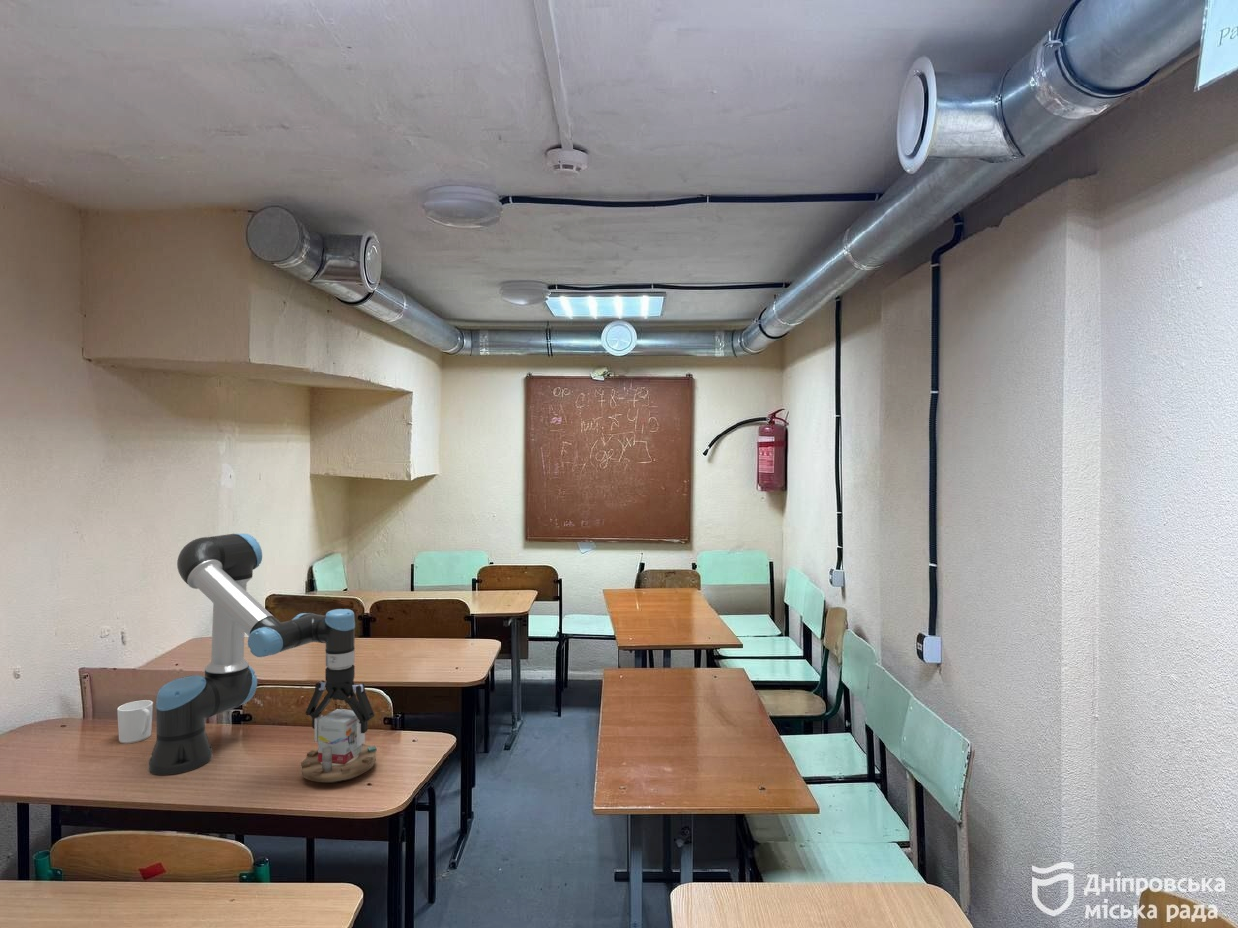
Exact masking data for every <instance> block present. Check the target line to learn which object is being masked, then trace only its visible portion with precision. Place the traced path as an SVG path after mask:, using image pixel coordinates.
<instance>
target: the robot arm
mask: <svg viewBox="0 0 1238 928" xmlns="http://www.w3.org/2000/svg"><path fill="white" fill-rule="evenodd" d="M262 561H263V551H262V547H261V545H260V542H258V540H257V539H256V538H255V537H254V536H252V535H251V534H249V533H229V534H222V535H221V534H220V535H214V536H204V537H199V538H195V539H193V540H191V541H190V542H188V543H187V544H185V546H183V548H182V549H181V551H180V552H179V554H178V557H177V562H176V566H177V571H178V574H179V576H180V577H181V579H182V580H183V582H184V583H186V585H187V586H188V587H190V588H192V589H196V590H199V591H200V592H201V593H202V594H203V595H204V596H205V597H206V598H207V599H209V600H210V601H211V602H212V603H213V604H212V605H213V606H212V607H213V608H212V625H211V626H212V630H211V631H212V633H211V651H210V652H211V653H210V654H211V656H210V658H211V659H210V662H209V663H208V664H207V665H206V666H205V668H204V676H203V675H199V674H196V675H195V674H194V675H188V676H186V677H183V676H182V677H179V678H178V677H177V678H175V679H173V680H171V681H169V682H166V683H165V684H164V685H162V686H161V687H160V688H159V690H158V692H157V693H156V694H157V696H156V703H155V708H156V742H155V743H154V747H153V749H152V753H151V756H150V758H149V760H148V772H149V773H151V774H153V775H157V776H172V775H178V774H182V773H186V772H190V771H192V770H195V769H198V768H200V767H203V766H204V765H205V764H207V763H209V762H210V761H211V759H212V758H213V748H212V745H211V744H210V741H209V737H208V734H207V733H206V719H209V718H211V717H213V716H217V715H219V714H222V713H224V712H227V711H231V710H233V709H237V708H239V707H241V705H245V704H246V703H247V702H249V701H250V700H251V699H253V696H254V695H255V693H256V691H257V687H258V678H257V675H256V674H255V673H256V672H255V670H254V668H253V667H251V666H250V663H249V662H248V661H247V660H246V659H245V658H244V656H245V655H244V654H245V636H246V635H247V636H248V638H247V647H248V648H249V650H250V654H252V655H253V656H255V657H257V658H263V657H264V658H265V657H270V656H273V655H277V654H279V653H282V652H284V651H285V652H286V651H287V650H290V649H294V648H298V647H300V646H304V645H306V644H310V643H320V644H325V667H326V668H325V671H324V672H325V674H324V675H325V680H323V679H322V680H320V681H318V682H317V683H315V685H314V686H315V687H314V688H315V689H314V692H313V694H312V697H311V699H310V701H309V704H308V706H307V708H306V710H305V716H309V717H311V718H312V721H311V722H312V723H311V725H312V729H314V743H318V731H319V719H320V718H322V717H324V714H322V712H323V711H324V709H326V707H327V706H328V705H329V704H330V702H331V700H333V701H337V700H338V701H344V702H345V704H348V706H349V707H350V710H353V712H354V713H355V715H356V716H357V718H358V719H359V722H357V746H360V745H362V744H365V743H366V733H367V732H368V731H369V730H368V727H369V726H368V725H369V724H368V722H369V721H370V720H372V719H373V718H374V717H375V713H374V710H373V707H372V706H371V705H372V704H371V702H370V701H369V697H368V696H367V692H366V686H365V684H364V683H360V684H355V683H354V682H355V681H354V680H355V669H356V668H355V667H356V666H355V662H356V660H355V656H356V655H355V654H356V653H355V652H356V651H355V635H356V633H355V632H356V631H355V630H356V621H355V620H356V619H355V612H354V611H353V610H351V609H349V608H344V609H343V608H336V609H332V610H329V611H327V612H326V614H325V615H324V614H318V613H317V614H315V613H312V612H308V613H306V612H304V613H303V612H302V613H301V612H300V613H299V614H297V615H295V617H293V618H292V619H290V620H286V621H283V622H281V621H280V620H279V619H278V618H276V617H275V616H274V615H273V614H271V612H269V611H268V610H267V609H266V608H265V607H264V606H263V605H262V604H261V603H260V602H258V600H256V599H255V598H254V597H253V596H252V595H251V594H249V592H248V591H247V586H248V585H247V584H248V582H249V581H250V580H252V579H253V574H254V573H253V571H254V570H255V569H257V568H258V567H260V565H261V563H262ZM245 634H246V635H245ZM324 691H326V692H327V693H326V694H325V696H324V697H323V699H322V701H321V702H320V700H321V698H322V695H323V694H324ZM319 702H320V703H319ZM318 704H319V705H318Z"/></svg>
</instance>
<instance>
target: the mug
mask: <svg viewBox="0 0 1238 928" xmlns="http://www.w3.org/2000/svg"><path fill="white" fill-rule="evenodd" d="M153 707H154V701H152V700H149V699H148V700H147V699H143V700H136V701H135V700H134V701H130V702H126V703H124V704H122V705H120V706H118V707H117V708H116V709H117V711H116V712H117V726H118V728H117V730H118V742H119V743H120V744H122V745H123V744H125V745H126V744H127V745H128V744H135V743H139V742H142V741H146V740H147V739H149V738H150V737H151V736H152V725H153V709H154V708H153Z"/></svg>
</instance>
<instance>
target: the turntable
mask: <svg viewBox="0 0 1238 928" xmlns="http://www.w3.org/2000/svg"><path fill="white" fill-rule="evenodd" d="M376 752H377V746H376V745H373V746H370V745H367V744H365V743H363V744H362V751H361V752H360V753H359V754H357V755H356V756H355V757H354V758H352V759H351V760H350V761H348V762H347V763H346V764H336V763H332V747H324V748H323V749H322V762H319V761H318V750H310V751H308V752H307V753H306V758H304V759H303V761H302V762H300V767H301V775H302V776H303V777H304V778H305V779H306V780H309V781H312V782H317V783H324V782H335V781H341V780H346V779H350V778H352V779H354V778H356V777H358V776H361V775H362V774H364V773H366V772H368V771H369V770H370V769H372V768H373V766H375V763H376V761H377V753H376ZM353 777H354V778H353ZM350 780H351V779H350Z"/></svg>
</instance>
